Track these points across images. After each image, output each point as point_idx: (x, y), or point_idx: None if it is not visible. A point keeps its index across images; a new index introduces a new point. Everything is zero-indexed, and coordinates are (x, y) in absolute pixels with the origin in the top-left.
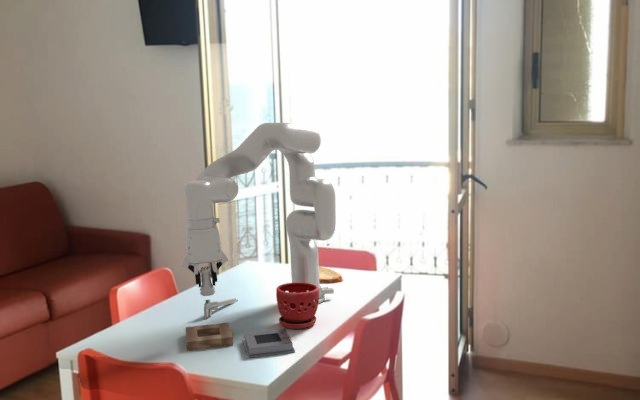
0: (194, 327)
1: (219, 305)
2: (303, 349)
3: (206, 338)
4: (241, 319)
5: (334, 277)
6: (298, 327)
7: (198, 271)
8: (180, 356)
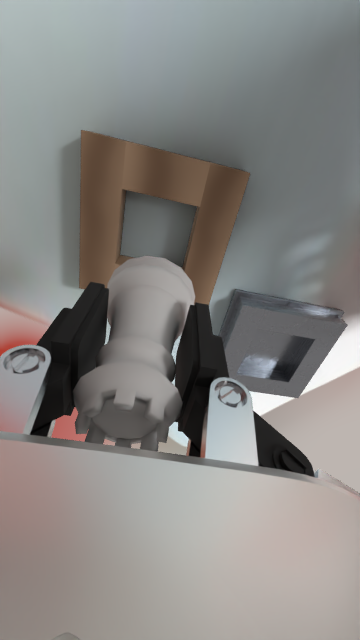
0: (116, 157)
1: None
2: (314, 382)
3: None
4: (350, 43)
5: None
6: None
7: (55, 417)
8: (68, 304)
